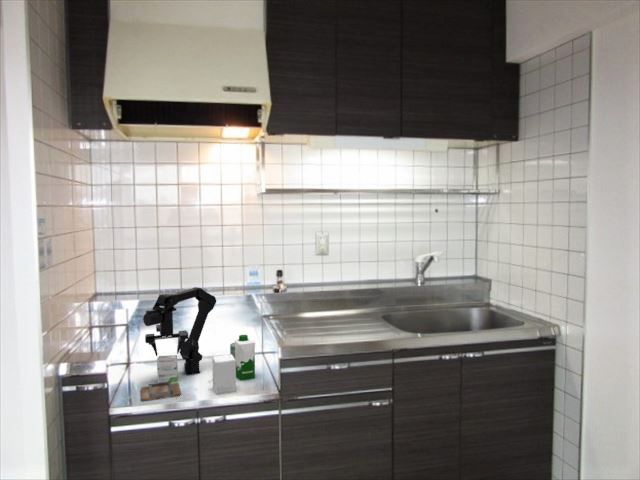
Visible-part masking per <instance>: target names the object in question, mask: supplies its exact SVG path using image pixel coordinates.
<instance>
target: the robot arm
mask: <svg viewBox="0 0 640 480" xmlns="http://www.w3.org/2000/svg"><path fill="white" fill-rule="evenodd" d="M193 298H195V299H196V300H197V301H198V303H197V308H198V311H197V313H196V317H195V319H194V323H193V324H192V327H191V331H190V333H189V332H188V331H187V330H179V331H178V333H174V312H176V311H178V309H177V308H176V307H175V306H177V305H178V303H181V302H183V301H186V300H190V299H193ZM216 304H217V298H216V296H214V295H212V294H211V293H208V292H207V291H205V290H204V289H203V288H201V287H197V286H196V287H193V288H192V287H191V288H189V289H187V290H183V291H177V292H175V293H162V294H161V293H160V294H159V295H158V297H157V299H156V301H155V303H154V305H153V306H152V308H151V310H149V309H148V310H146V311H145V314H144V315H143V318H142V319H143V320H142V321H143V323H144V325H145V326H146V327H152V326H156V327H155V331H156V333H158V332H159V335H155V333H146V334H145V335H144V336H145V338H144V339H145V340H144V341H145V344H148V345H149V346H150V345H151V347H152V349H153V351H154V354H155V356H156V357H158V349H157V344H156V341H157V340H165V339H167V340H168V339H175V338H176V339H177V348H176V355H180V357H182V360H183V361H185V362H184V363H183V364H184V365H183V369H184V373H185V375H187V376H188V375H197V374H200V373H201V370H200V361H202V360H203V355H202V354H201V353H200V352H199V349H200V346H199V345H200V344H199V342H200V341H199V340H200V337H201V335H202V332H203V329H204V326H205V325H206V324H205V323H206V321H207V318H208V315H209V313H211V311H212V310H213V309H214V308H215V306H216Z"/></svg>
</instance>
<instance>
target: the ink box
mask: <svg viewBox="0 0 640 480" xmlns="http://www.w3.org/2000/svg"><path fill="white" fill-rule="evenodd" d="M156 364H157V365H156V367H157V369H156V370H157V383H160V382H168V381H171V383H178V382H179V381H178V380H179V372H178V370H179V369H178V354H176V355H175V354H171V355H170V354H169V355H159V356H157V358H156Z"/></svg>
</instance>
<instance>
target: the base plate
mask: <svg viewBox="0 0 640 480" xmlns="http://www.w3.org/2000/svg"><path fill="white" fill-rule="evenodd" d="M180 395H181V396H182V391H181V388H180V384H179V382H172V383H171V381H168V382H160V383H158V382H154V383H148V386H142V387H140V398H141V399H140V400H141V401H143V402H150V401H154V400H153V399H156V400H161V399H160V398H163V399H166V398H165V397H170V398H173V397H172V396H177V397H181V396H180Z"/></svg>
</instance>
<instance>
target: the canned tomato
mask: <svg viewBox="0 0 640 480" xmlns="http://www.w3.org/2000/svg"><path fill="white" fill-rule="evenodd" d="M229 347H230V348H229V350H230V353H229V355H233V357H234V359H235V342H231V343H230V345H229Z"/></svg>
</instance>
